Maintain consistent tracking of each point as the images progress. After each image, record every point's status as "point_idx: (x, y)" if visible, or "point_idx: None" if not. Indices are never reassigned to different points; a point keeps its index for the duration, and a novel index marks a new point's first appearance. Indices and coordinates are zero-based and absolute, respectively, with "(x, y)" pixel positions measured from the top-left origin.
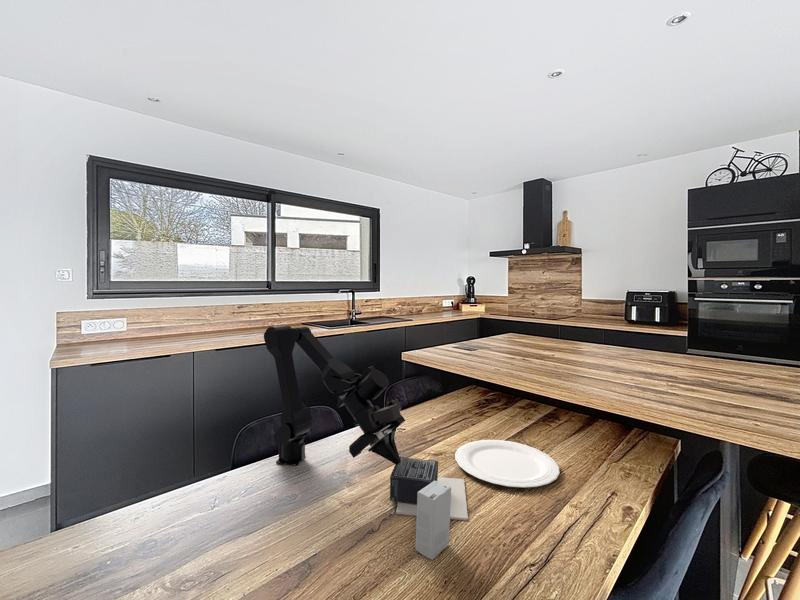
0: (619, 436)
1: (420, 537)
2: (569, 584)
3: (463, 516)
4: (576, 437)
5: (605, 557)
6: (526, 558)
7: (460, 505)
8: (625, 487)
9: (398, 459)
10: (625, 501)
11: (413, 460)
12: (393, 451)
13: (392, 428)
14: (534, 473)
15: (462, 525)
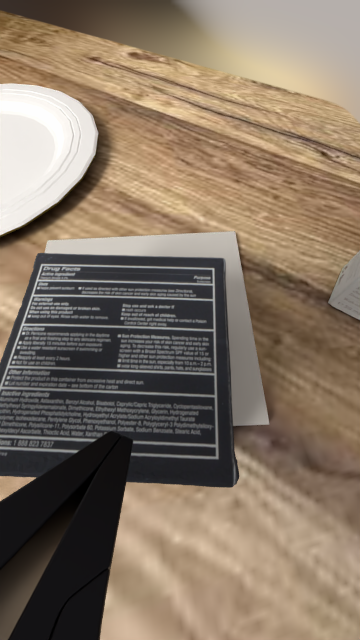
0: None
1: None
2: (343, 124)
3: (230, 239)
4: None
5: (263, 89)
6: (312, 158)
7: (183, 246)
8: (75, 47)
9: (115, 450)
10: (116, 54)
11: (25, 364)
12: (80, 531)
13: None
14: (27, 121)
15: (255, 245)
